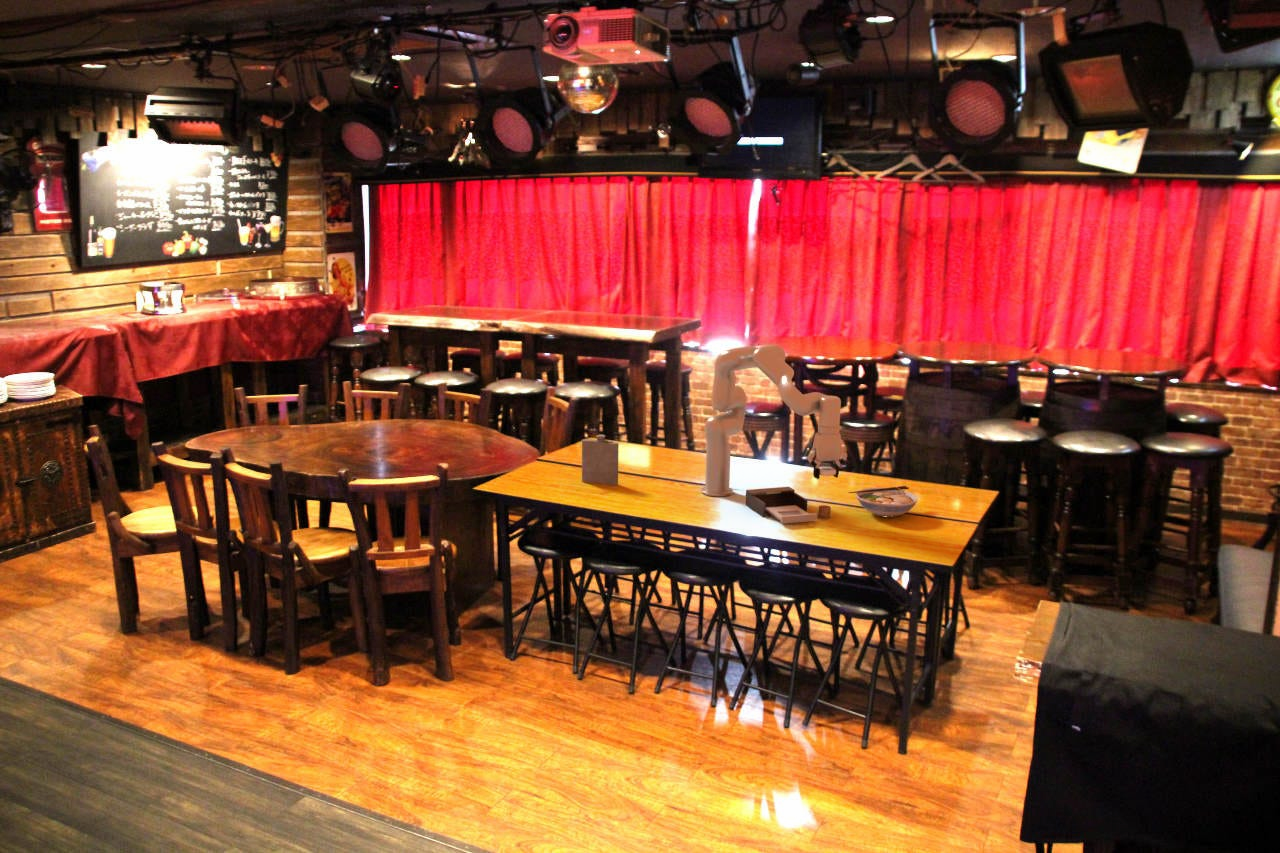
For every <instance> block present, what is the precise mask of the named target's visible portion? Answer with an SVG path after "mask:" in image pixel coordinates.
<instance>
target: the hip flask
mask: <svg viewBox="0 0 1280 853" xmlns="http://www.w3.org/2000/svg"><path fill="white" fill-rule="evenodd" d="M605 438H606V435H605V434H597V435H596V439H592V438H591V439H588V438H586V439H585V438H584V439H581V482H582V483H586V482H587V483H589V484H597V485H598V484H599V485H606V486H611V487H616V486H619V446H620V445H619V442H617V441H612V440H609V439H608V440H607V439H605Z"/></svg>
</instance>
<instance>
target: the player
mask: <svg viewBox="0 0 1280 853" xmlns="http://www.w3.org/2000/svg"><path fill="white" fill-rule="evenodd" d="M793 505H796V506H798V507H799V508H801V509H802V510H804V511H806V512H807V513H808V499H807V498H805V497H803V496H802V495H800V494H799V493H798V492H795V489H793V488H792V487H790V486H779V487H767V488H765V487H764V488H753V489H745V506H746V507H747V508H748V509H750V510H752V511H753V512H754V513H756V514H757V515H759V516H760V517H761V518H773V517H774V516H772V515H771V514H769V513H768V512H766V511H765V508H769V507H781V506H793Z"/></svg>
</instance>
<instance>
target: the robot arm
mask: <svg viewBox="0 0 1280 853" xmlns="http://www.w3.org/2000/svg"><path fill="white" fill-rule="evenodd" d="M786 357H787V355H786V352H785V350H784V349H783V347H782V346H780V345H778V344H774V343H773V344H765V345H763V344H760V345H759V344H758V345H748V346H747V345H746V346H743V347H742V346H741V347H735V348H730V349H727V350H724V351H721V353H719V354H718V355H717V357H716V359H715V363H714V373H713V374H714V376H713V377H714V378H713V384H712V391H711V392H712V393H711V401H710V402H711V407H712V409H713V410H714V411H715V412H718V413H719V414H718V413H717V414H715V415H712V416H711V417H709V418H708V419H706V421H705V424H704V433H705V434H704V435H705V443H706V444H705V445H706V446H705V447H706V448H705V449H706V450H705V451H706V452H705V454H706V455H705V485H704V486H703V487H702V488H701V491H700V492H701V493H702V494H703V495H705V496H708V497H709V496H710V497H729V496H731V495H733V493H734V490H733V488H732V487H730V479H731V478H730V476H731V472H730V470H731V445H730V442H729V439H728V438H729V437H732V436H735V435H738V434H739V433H740V432H742V429H743V427H744V423H745V416H746V408H747V395H746V392H745V390H744V389H743V387H741V386H739V385H736V381H737V379H736V378H737V376H736V372H735V371H741V370H746V369H752V368H758V369H759V370H760V371H761V372H762V373H763V374H764V375H765V376H766V377H767V378H768V379H769V380H770V381H771V382H772V383H773V384H775V386H776V387H777V391H778V394H779V396H780V398H781V400H782V401H783V402H784V403H785V405H786V406H787V407H788V408H790V409H791V411H792V412H794V413H795V414H797V415H799V416H802V417H803V416H809V415H813V414H818V427H817V432H815V435H814V438H813V444H812V450H811V452H810V453H809V454H808V455H807V456H806V460H807V461H808V462H809V464H811V466H812V467H813V471H812V472H813V473H812V475H813V478H815V479H816V480H819V479H820V477H821V475H820V468H819V467H821V466H820V465H821V464H822V462H833V465H832V468H835V469H836V475H833V477H835V478H838V477H839V474H840V473H839V472H840V467H841V465H842V464H843V463H844V462H845V460H846V459H847V457H848V455H847V454H846V452H844V451H843V450H842V449H843V448H842V447H843V446H842V445H843V444H842V442H843V441H842V436H841V433H840V431H842V430H843V426H841V425H840V423H841V408H842V407H841V405H842V401H841V398H840V397H838V396H837V395H827V394H824V393H821V392H816V391H814V392H808V393H804V394H803V393H802V392H801V391H800V390H799V389H798V388H797V387H796V386H795V385H794V383H793V381H792V379H793V377H794V375H795V371H794V369H793V368H792V367H791V366H790V365H789V364H788V363H786Z"/></svg>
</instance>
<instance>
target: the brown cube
mask: <svg viewBox="0 0 1280 853" xmlns="http://www.w3.org/2000/svg"><path fill="white" fill-rule="evenodd" d="M831 508H832V507H831V506H829V505H826V504H825V505H824V504H823V505H822V504H820V505H819V506H818V513H817V519H820V520H829V518H830V519H831V511H832V509H831Z"/></svg>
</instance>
